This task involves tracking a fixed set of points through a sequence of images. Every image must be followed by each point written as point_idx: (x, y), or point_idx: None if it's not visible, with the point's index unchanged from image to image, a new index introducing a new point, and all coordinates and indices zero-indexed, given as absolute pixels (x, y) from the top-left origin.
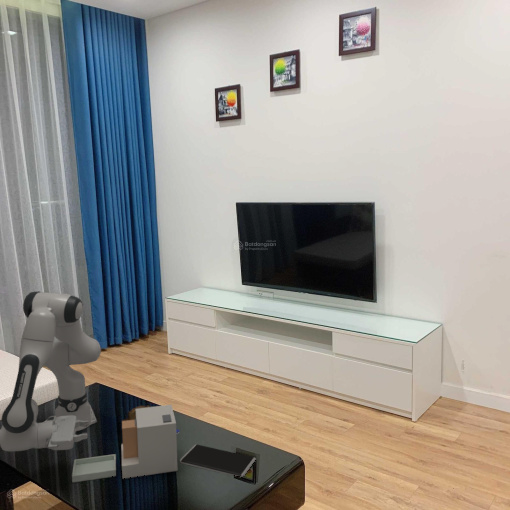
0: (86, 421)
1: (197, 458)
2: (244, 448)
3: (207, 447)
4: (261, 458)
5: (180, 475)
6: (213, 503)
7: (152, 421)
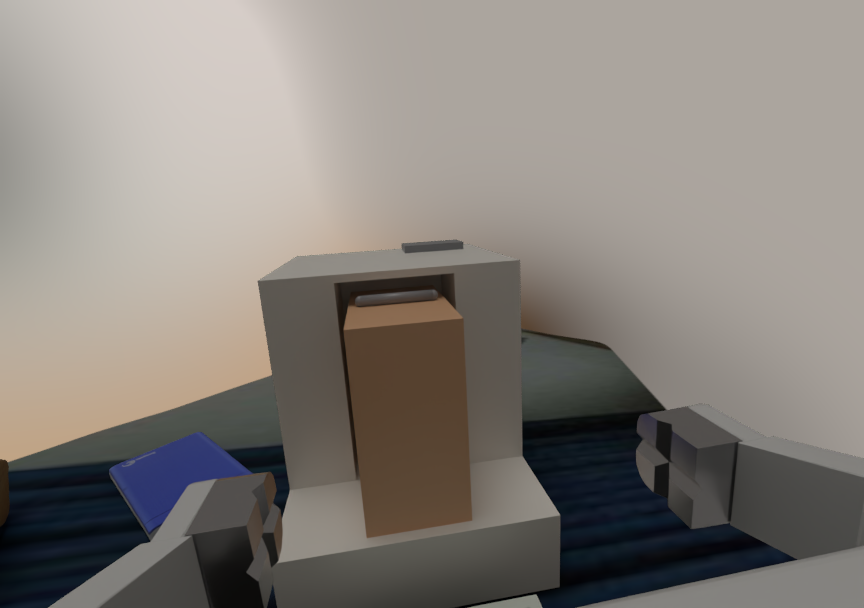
0: (201, 495)
1: None
2: None
3: None
4: None
5: None
6: (620, 367)
7: (447, 255)
